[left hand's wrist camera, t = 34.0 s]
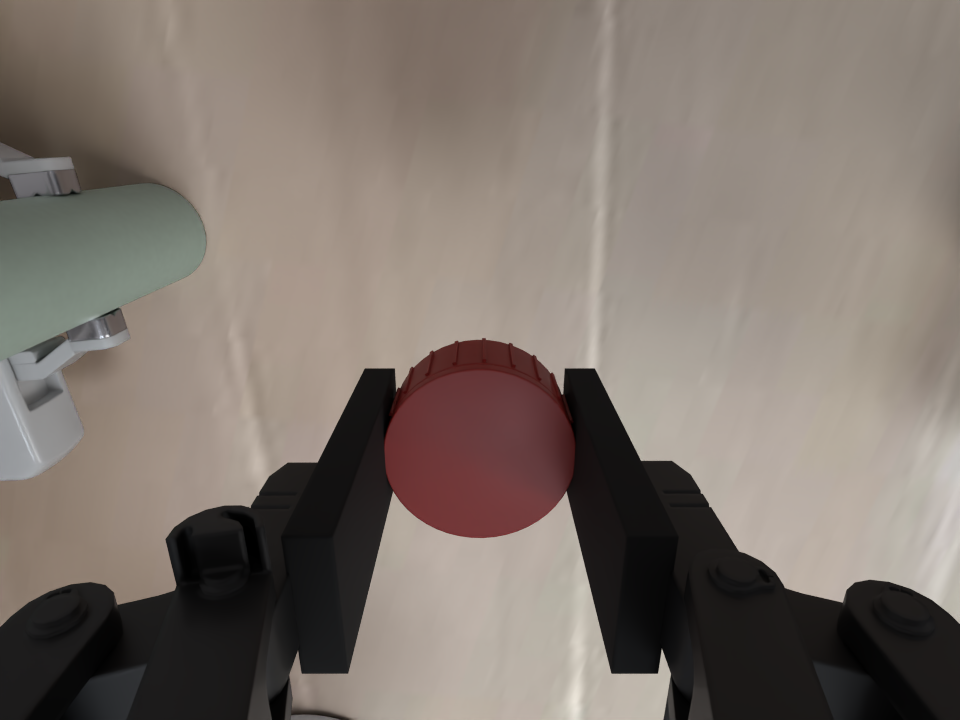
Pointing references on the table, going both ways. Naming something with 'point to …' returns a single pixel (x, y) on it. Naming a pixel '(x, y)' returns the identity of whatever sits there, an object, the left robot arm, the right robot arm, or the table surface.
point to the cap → (479, 440)
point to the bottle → (89, 256)
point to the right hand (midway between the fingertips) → (94, 253)
